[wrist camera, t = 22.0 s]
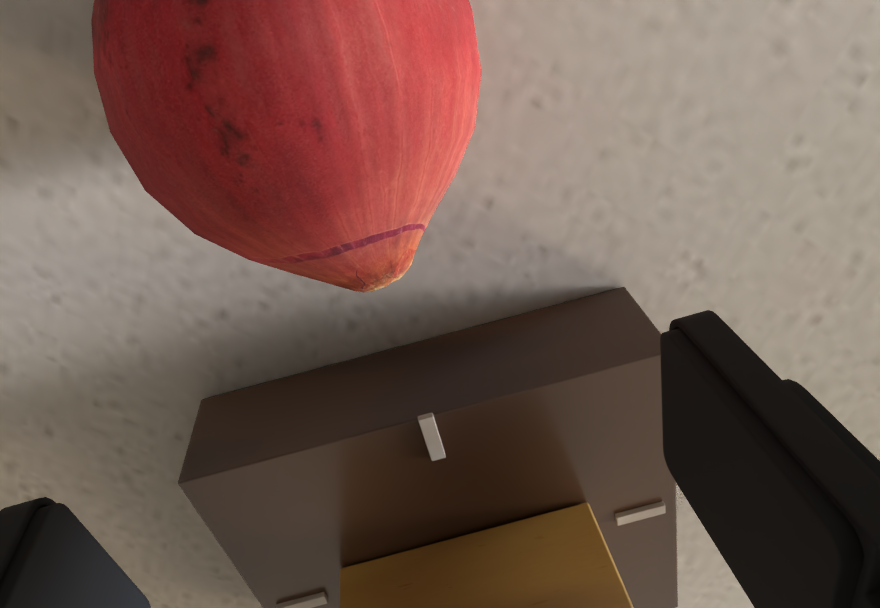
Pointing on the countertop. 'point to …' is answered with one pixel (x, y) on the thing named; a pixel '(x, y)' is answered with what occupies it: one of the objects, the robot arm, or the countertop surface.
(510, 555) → the tap handle
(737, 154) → the countertop surface
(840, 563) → the robot arm
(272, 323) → the countertop surface
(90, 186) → the countertop surface
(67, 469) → the countertop surface
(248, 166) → the onion
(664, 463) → the tap deck
